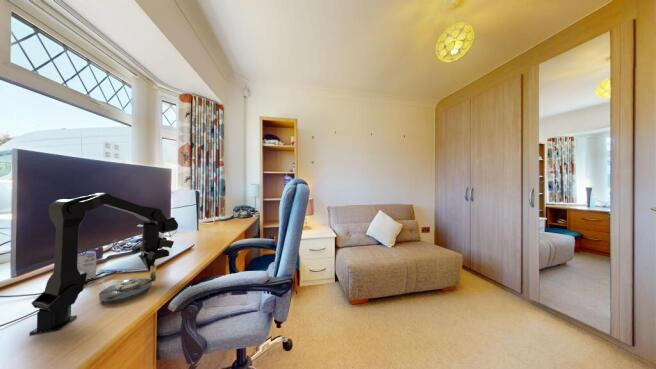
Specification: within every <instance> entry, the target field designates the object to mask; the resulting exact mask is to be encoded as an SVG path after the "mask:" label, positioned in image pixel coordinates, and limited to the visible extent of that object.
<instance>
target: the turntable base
mask: <svg viewBox="0 0 656 369" xmlns="http://www.w3.org/2000/svg"><path fill="white" fill-rule="evenodd" d="M149 290H150V288H149V289H148V290H147V291H145V292H143V293H141V294H139V295H136V296H133V297H130V298H127V299H123V300H118V301H112V302H103V301H102V302H103V303H104V304H107V305H114V304H120V303H124V302H128V301H132V300H135V299H136V298H139V297H141V296H143V295H145V294H146V293H148V291H149Z"/></svg>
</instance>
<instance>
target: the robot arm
mask: <svg viewBox="0 0 656 369" xmlns="http://www.w3.org/2000/svg"><path fill="white" fill-rule="evenodd" d="M101 206H105V207H108V208H112V209H115V210H119V211H121V212H124V213H128V214H132V215H133V216H135V217H136V218H137V219H139V220H141V222H140V223H139V224H137V225H136V228H139V229H142V233H141V234H142V237H141V238H139V242H141V244H139V245H134V246H133V247H132V248H131V249H132V250H131V253H132V254H134V255H135V254H137V253H138V252H140V254H139V255H138V258H140V260H141V262H142V263H143V264H144V266H145V268H146V269H147V271H150V265H153V264H156V263H155V262H156V260H160V259H162V258H166V257H169V256H170V250H168V249H172V248H173V245H174V242H175V241H174V240H171V239H167V236H166V237H165V236H160V234H166V233H171V232H174V231H176V230H178V228H179V223H178V222H177V220H175V219H176V218H175V217H168V218H167V216H165V215H164V214H163V210H162V209H160V208H157V207H151V206H144V205H140V204H137V203H135V202H132V201H129V200H126V199H123V198H120V197H117V196H114V195H112V194H110V193H107V192H97V193H94V194H89V195H87V196H86V195H85V196H80V197H75V198H71V199H66V198H63V199H62V198H61V199H58V200H54V201H53V202H52V203H50V204H49V205H48V214H49V218H50V220H51V222H52V224H53V226H54V227H55V239H54V263H53V272H52V274H51V275H50V277H49V278H48V279H47V282H46V285H45V288H44V291H43V292H42V293H40V294H39V295H38V296H37V297H36V298H35V299H34V300H33V301H32V302H31V303H30V304H31V305H32V307H33V308H35V309H38V311H37V313H36V328H34V329H33V330H31V331H29V334H28V335H34V334H42V333H47V332H48V333H49V332H52V331H53V332H54V331H58V330H60V329H62V328H63V327H65V326H66V325H68V324H69V323H70V322H71V321H73V320H75V319H76V318H77V314H75V315H72V305H74V304H75V303H76V301H77V299H78V297H79V294H80V293H82V292H83V290H84V288H85V286H86V285H88V283H87V280H86V276H87V272H81V271H79V270H78V268H77V263H78V252H79V250H78V249H79V235H80V226H81V224H82V222H83V221H84V220H85V218H86V215H87V212H88V211H91V210H95V209H97V208H99V207H101ZM147 221H149V222H147ZM165 248H168V249H165Z"/></svg>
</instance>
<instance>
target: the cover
mask: <svg viewBox="0 0 656 369" xmlns="http://www.w3.org/2000/svg"><path fill="white" fill-rule="evenodd" d="M140 279H141V278H138V277H128V278H124V279H121V280H120V281H118V282H117V283H115V284H114V285H115V291H116V292H122V291H127V290H130V289H133V288H135V287H137V286H139V280H140Z"/></svg>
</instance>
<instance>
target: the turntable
mask: <svg viewBox="0 0 656 369" xmlns="http://www.w3.org/2000/svg"><path fill="white" fill-rule="evenodd" d="M149 273H150V274H149V277H150V278H146V277H145V278H139V279H140V280H139V286H137V287H135V288H133V289H130V290H127V291H122V292H116V291H115V284H113V285H110V286H108V287H107V288H104V289H102V290H101V291H100V292H99V293H98V300H99V301H100V302H112V301H118V300H123V299H127V298H130V297H133V296H136V295H139V294H141V293H143V292H145V291H147V290H148V289H149V290H150V289H151V288H152V285H153V283H154V282H156V280H157V263H154V264H153V265H150V270H149ZM149 290H148V291H149ZM148 291H147V292H148Z"/></svg>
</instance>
